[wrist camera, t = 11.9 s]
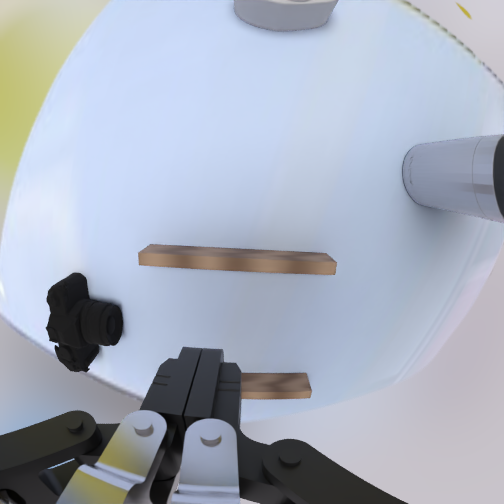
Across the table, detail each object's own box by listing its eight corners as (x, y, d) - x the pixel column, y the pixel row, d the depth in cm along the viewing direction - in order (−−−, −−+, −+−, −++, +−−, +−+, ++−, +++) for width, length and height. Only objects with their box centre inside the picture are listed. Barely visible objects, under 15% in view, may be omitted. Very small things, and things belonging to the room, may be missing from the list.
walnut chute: (326, 253, 35) (336, 262, 31) (304, 379, 40) (310, 397, 36) (150, 244, 34) (138, 252, 30) (161, 372, 39) (154, 390, 35)
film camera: (130, 359, 39) (111, 394, 30) (82, 349, 38) (58, 379, 30) (119, 271, 35) (88, 295, 27) (66, 266, 35) (32, 286, 26)
